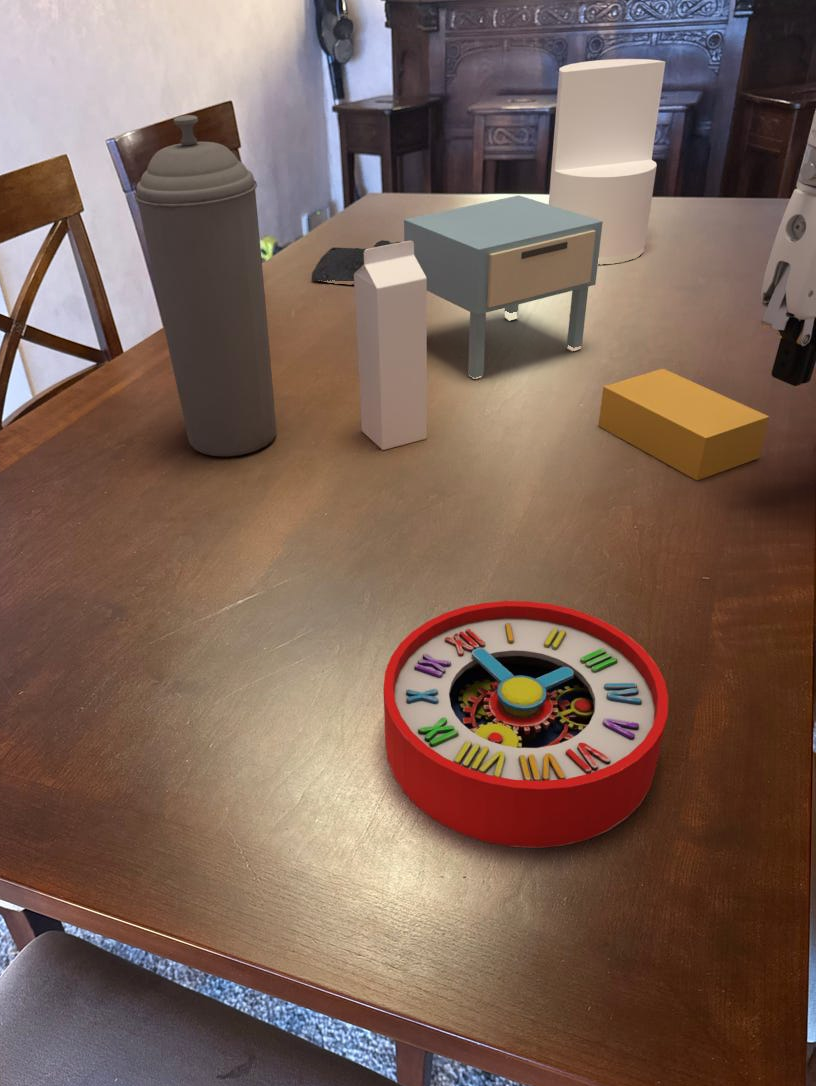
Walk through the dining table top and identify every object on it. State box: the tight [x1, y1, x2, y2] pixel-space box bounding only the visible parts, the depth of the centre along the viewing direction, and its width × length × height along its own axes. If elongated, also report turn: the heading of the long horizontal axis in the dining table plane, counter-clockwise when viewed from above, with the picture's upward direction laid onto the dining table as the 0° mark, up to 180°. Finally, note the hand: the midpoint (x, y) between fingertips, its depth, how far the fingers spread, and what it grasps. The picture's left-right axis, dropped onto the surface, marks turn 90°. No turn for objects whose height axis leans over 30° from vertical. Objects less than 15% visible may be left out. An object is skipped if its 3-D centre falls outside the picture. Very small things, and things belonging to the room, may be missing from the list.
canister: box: [134, 114, 277, 458], centre depth 100 cm, size 13×13×35 cm
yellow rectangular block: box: [597, 368, 770, 481], centre depth 101 cm, size 16×9×5 cm, turn 27°
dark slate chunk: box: [311, 239, 402, 281], centre depth 157 cm, size 15×22×5 cm
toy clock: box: [382, 600, 669, 849], centre depth 66 cm, size 20×6×20 cm
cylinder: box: [548, 58, 666, 257], centre depth 151 cm, size 17×17×28 cm
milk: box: [354, 241, 428, 451], centre depth 102 cm, size 6×6×22 cm
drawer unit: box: [403, 195, 603, 378], centre depth 123 cm, size 19×19×17 cm
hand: (789, 379), depth 86 cm, fingers closed
